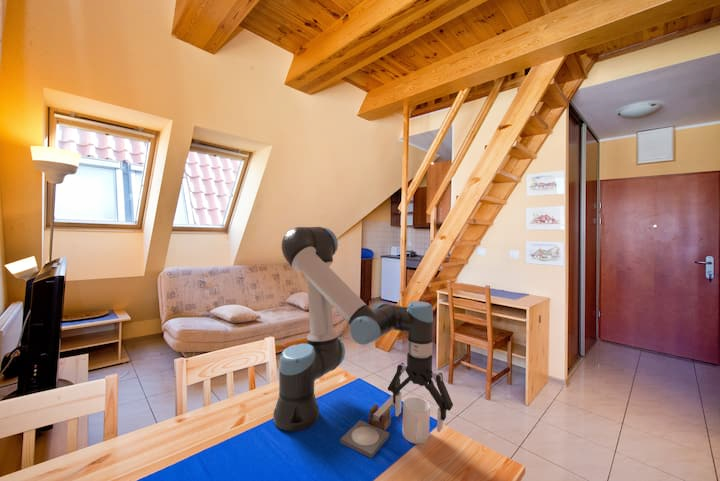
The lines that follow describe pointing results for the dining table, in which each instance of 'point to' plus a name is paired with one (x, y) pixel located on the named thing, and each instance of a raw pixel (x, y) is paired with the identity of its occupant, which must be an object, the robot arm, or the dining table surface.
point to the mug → (416, 420)
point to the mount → (384, 422)
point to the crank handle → (385, 406)
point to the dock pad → (365, 438)
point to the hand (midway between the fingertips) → (418, 421)
